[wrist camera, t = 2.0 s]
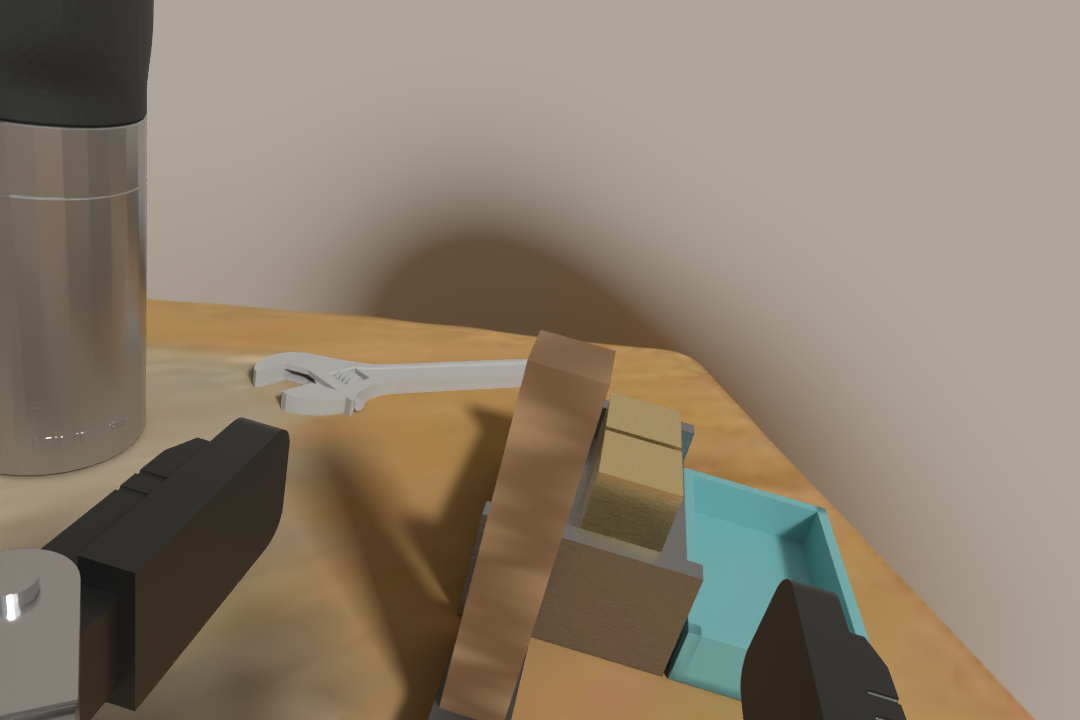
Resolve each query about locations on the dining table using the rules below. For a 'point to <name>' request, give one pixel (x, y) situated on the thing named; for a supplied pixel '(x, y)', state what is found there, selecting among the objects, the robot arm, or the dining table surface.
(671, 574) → the rail channel
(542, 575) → the wooden post on base
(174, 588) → the robot arm
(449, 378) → the adjustable wrench
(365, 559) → the dining table surface
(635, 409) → the brass block
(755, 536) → the tray
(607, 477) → the brass block
